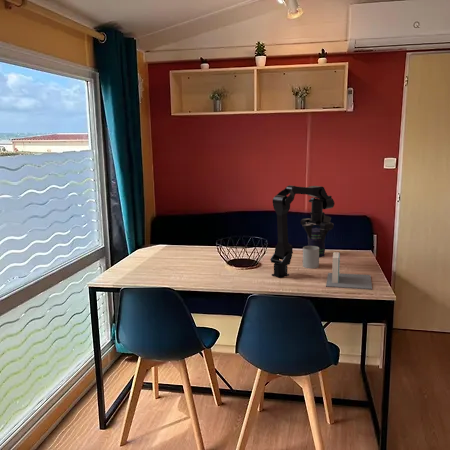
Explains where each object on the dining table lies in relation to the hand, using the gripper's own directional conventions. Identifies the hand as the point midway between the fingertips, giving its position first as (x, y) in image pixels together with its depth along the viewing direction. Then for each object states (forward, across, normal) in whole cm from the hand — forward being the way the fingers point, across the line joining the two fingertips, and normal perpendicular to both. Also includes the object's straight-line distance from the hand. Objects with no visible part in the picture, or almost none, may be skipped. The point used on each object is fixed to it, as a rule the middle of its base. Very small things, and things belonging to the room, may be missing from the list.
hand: (316, 239), depth 238 cm
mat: (+14, -28, +6) cm, 32 cm away
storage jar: (+14, +15, -15) cm, 25 cm away
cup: (+14, +1, +2) cm, 14 cm away
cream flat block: (+14, -24, +10) cm, 29 cm away
